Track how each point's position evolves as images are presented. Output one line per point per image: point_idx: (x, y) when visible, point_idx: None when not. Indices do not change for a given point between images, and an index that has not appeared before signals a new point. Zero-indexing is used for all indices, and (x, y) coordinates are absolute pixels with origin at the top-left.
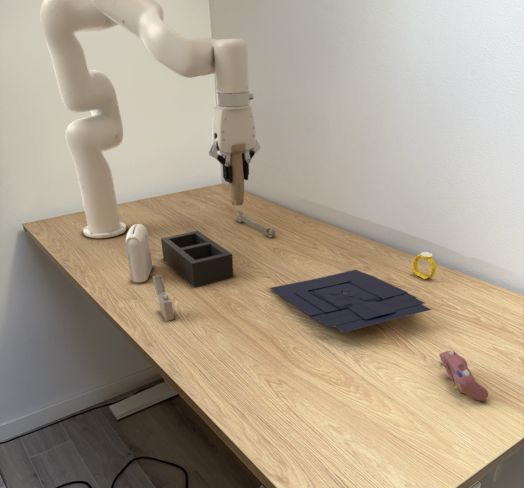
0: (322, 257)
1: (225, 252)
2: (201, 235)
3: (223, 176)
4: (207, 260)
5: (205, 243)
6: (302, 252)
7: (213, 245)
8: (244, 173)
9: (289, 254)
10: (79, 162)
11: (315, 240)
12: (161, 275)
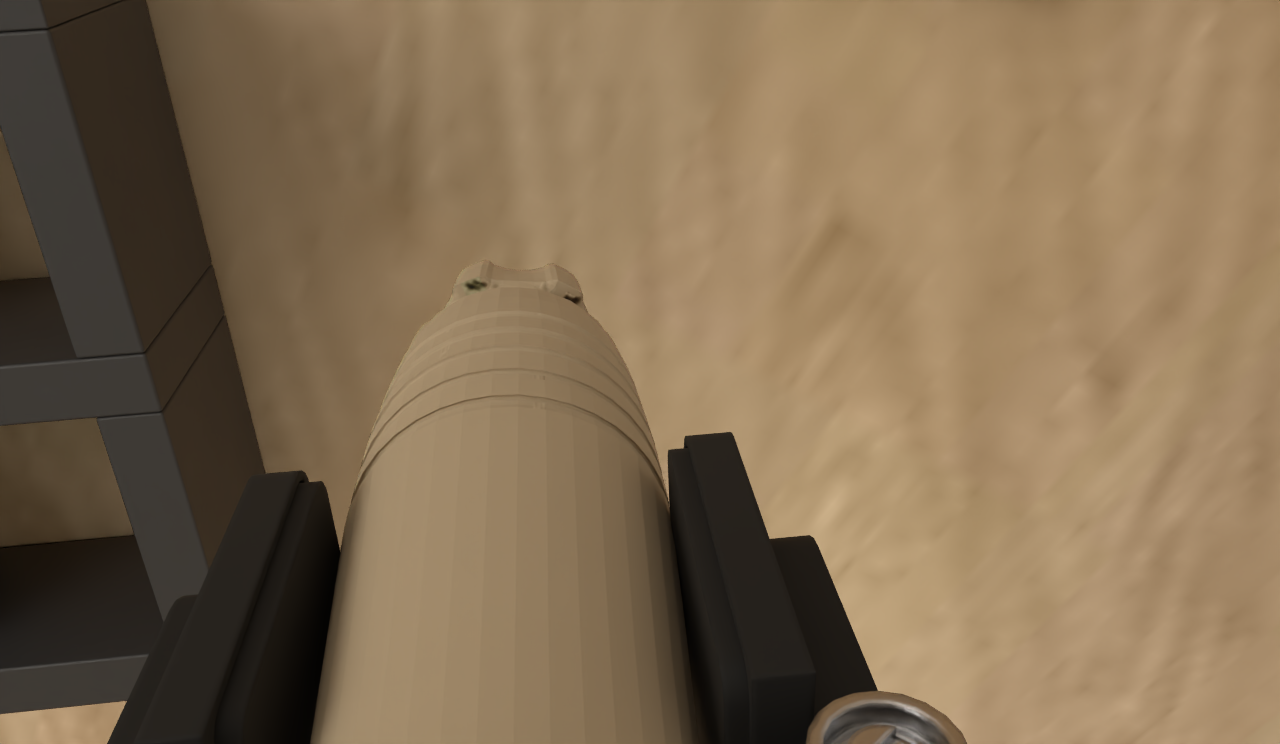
0: (1026, 535)
1: None
2: (43, 148)
3: (178, 612)
4: (3, 713)
5: (49, 390)
6: (974, 402)
7: (123, 467)
8: None
9: (866, 391)
10: None
11: (1244, 232)
12: None
